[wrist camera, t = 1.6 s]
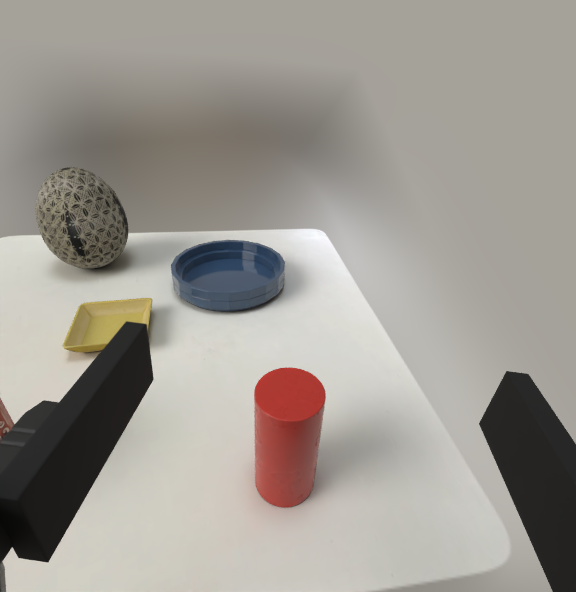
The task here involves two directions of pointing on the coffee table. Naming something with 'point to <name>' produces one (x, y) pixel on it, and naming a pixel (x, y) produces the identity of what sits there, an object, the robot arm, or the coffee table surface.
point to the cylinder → (287, 434)
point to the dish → (228, 275)
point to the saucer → (104, 322)
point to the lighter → (4, 421)
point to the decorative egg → (81, 218)
